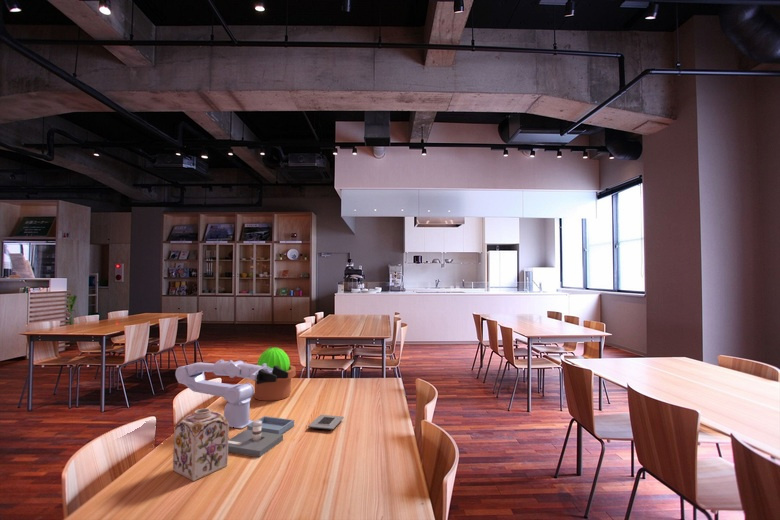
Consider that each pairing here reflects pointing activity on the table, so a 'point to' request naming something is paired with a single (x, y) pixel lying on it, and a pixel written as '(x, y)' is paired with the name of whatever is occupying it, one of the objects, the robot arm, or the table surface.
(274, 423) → the tray
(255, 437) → the white light bulb
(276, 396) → the potted cactus
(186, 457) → the decorative jar
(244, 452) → the light bulb socket board
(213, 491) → the table surface
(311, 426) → the electrical outlet
